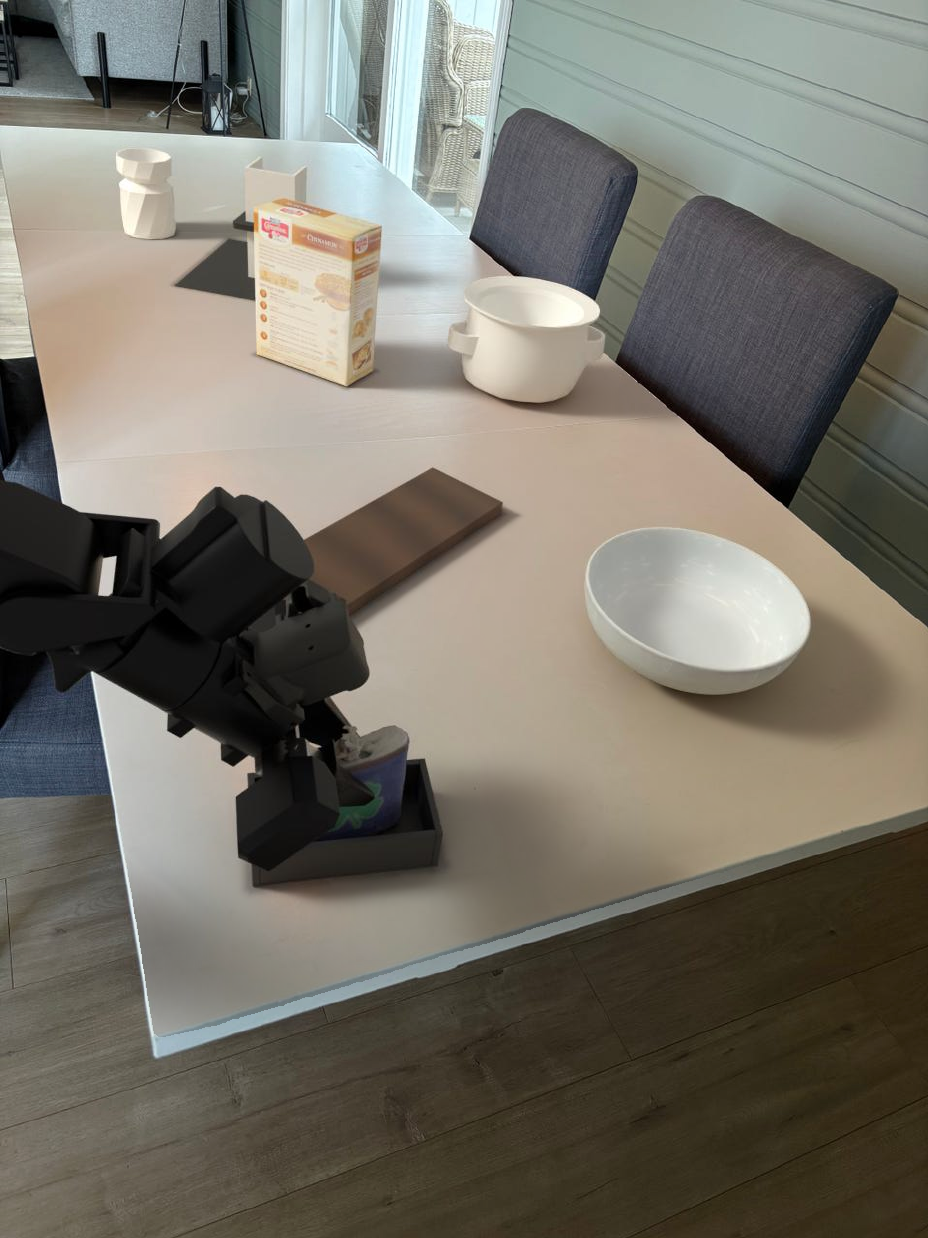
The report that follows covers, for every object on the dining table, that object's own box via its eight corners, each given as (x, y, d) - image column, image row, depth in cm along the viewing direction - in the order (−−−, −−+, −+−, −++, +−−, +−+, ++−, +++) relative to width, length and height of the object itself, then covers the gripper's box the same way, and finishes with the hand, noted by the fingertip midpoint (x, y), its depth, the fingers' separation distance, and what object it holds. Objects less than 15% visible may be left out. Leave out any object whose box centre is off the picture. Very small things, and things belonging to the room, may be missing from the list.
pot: (573, 361, 137) (590, 279, 130) (611, 416, 125) (633, 330, 117) (430, 357, 132) (439, 272, 124) (455, 414, 119) (467, 324, 111)
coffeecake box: (374, 370, 126) (384, 224, 114) (346, 388, 121) (353, 237, 109) (285, 339, 130) (285, 195, 118) (254, 355, 125) (251, 205, 113)
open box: (252, 886, 62) (251, 854, 60) (248, 805, 68) (247, 772, 65) (437, 865, 66) (443, 834, 63) (420, 789, 71) (424, 758, 68)
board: (229, 695, 76) (229, 683, 75) (150, 639, 80) (148, 626, 79) (501, 513, 102) (503, 502, 101) (431, 478, 106) (432, 466, 105)
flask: (392, 801, 69) (404, 702, 62) (408, 830, 67) (421, 732, 61) (274, 837, 65) (272, 736, 59) (287, 870, 64) (286, 769, 57)
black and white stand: (368, 263, 158) (374, 161, 148) (332, 314, 140) (336, 201, 129) (228, 238, 159) (224, 135, 149) (174, 285, 140) (165, 171, 130)
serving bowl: (534, 598, 91) (546, 542, 87) (703, 567, 99) (722, 514, 95) (645, 748, 77) (667, 690, 73) (831, 697, 85) (861, 642, 81)
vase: (130, 240, 153) (122, 162, 145) (117, 223, 158) (109, 147, 151) (182, 238, 156) (177, 162, 149) (168, 221, 162) (163, 147, 154)
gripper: (301, 706, 44) (488, 825, 54) (276, 495, 58) (429, 620, 67) (144, 823, 47) (348, 916, 57) (157, 596, 61) (319, 702, 70)
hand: (365, 774), depth 63 cm, fingers open, 4 cm apart
